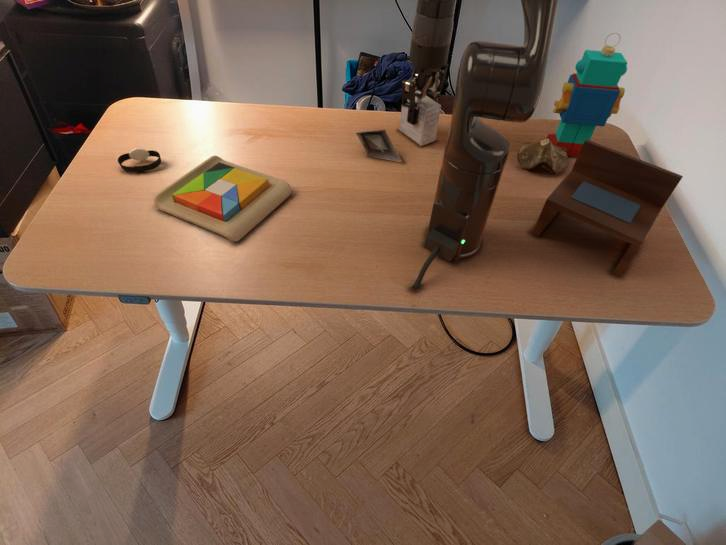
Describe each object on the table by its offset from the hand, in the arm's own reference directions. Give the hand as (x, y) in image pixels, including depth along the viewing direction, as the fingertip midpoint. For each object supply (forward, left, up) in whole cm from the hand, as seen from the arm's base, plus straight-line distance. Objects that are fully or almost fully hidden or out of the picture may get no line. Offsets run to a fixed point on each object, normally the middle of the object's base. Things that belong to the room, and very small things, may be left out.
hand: (419, 117), depth 103 cm
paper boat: (-13, +2, -5) cm, 14 cm away
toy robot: (+18, -28, -5) cm, 34 cm away
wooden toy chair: (-7, -42, -4) cm, 43 cm away
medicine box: (0, 0, -5) cm, 5 cm away
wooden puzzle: (-43, +14, -5) cm, 45 cm away
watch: (-47, +34, -5) cm, 58 cm away
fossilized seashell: (+8, -26, -5) cm, 28 cm away
